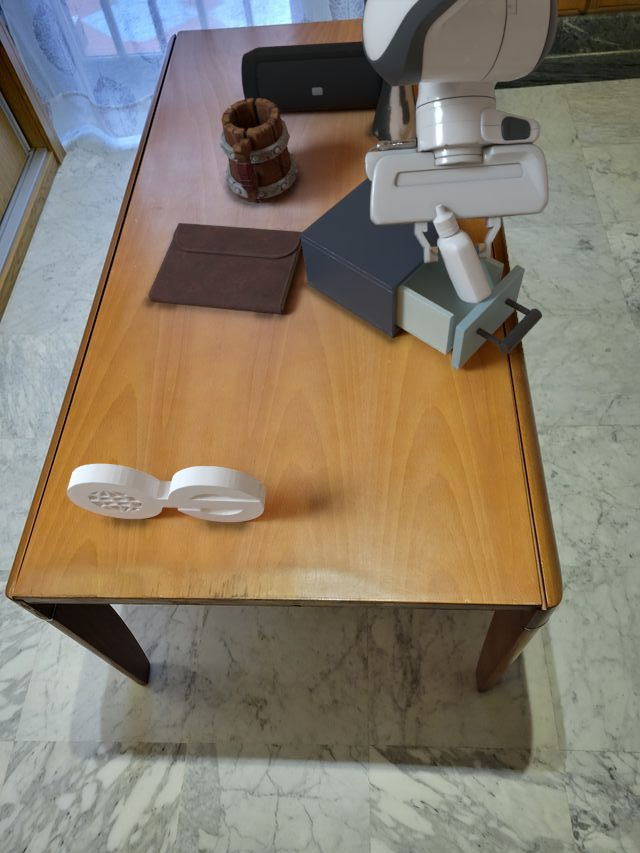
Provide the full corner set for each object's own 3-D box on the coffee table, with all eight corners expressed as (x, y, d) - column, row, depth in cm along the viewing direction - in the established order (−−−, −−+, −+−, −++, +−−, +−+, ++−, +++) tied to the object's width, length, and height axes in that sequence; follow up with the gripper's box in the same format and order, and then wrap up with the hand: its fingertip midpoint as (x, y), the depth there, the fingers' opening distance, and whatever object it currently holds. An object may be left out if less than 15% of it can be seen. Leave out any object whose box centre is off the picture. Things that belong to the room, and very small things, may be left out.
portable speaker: (248, 125, 112) (237, 69, 103) (255, 91, 117) (244, 35, 108) (394, 119, 109) (394, 60, 100) (395, 85, 114) (395, 26, 105)
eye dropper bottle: (491, 277, 79) (457, 188, 73) (492, 299, 75) (456, 207, 68) (458, 289, 81) (421, 204, 74) (457, 311, 76) (418, 223, 70)
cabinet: (453, 278, 89) (460, 225, 81) (392, 337, 85) (392, 288, 77) (369, 231, 96) (367, 177, 87) (307, 284, 91) (299, 233, 83)
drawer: (546, 328, 82) (560, 286, 76) (490, 390, 78) (499, 352, 72) (427, 262, 90) (430, 219, 83) (370, 315, 86) (369, 274, 79)
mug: (305, 152, 106) (291, 75, 92) (294, 223, 101) (278, 153, 87) (237, 152, 108) (213, 76, 94) (224, 222, 103) (196, 153, 89)
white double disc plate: (89, 517, 76) (50, 481, 67) (93, 500, 77) (56, 462, 68) (270, 523, 73) (254, 486, 64) (272, 505, 74) (257, 467, 66)
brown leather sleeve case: (282, 316, 89) (279, 306, 87) (151, 303, 92) (146, 293, 91) (304, 239, 96) (303, 229, 94) (182, 230, 100) (179, 220, 98)
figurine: (373, 153, 105) (369, -14, 83) (358, 128, 108) (350, -38, 87) (426, 137, 106) (435, -33, 84) (408, 113, 109) (413, -55, 88)
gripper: (364, 137, 69) (370, 267, 73) (555, 121, 68) (551, 254, 72) (363, 146, 75) (368, 266, 79) (538, 132, 74) (535, 254, 78)
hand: (457, 260), depth 75 cm, fingers closed on eye dropper bottle, 5 cm apart
